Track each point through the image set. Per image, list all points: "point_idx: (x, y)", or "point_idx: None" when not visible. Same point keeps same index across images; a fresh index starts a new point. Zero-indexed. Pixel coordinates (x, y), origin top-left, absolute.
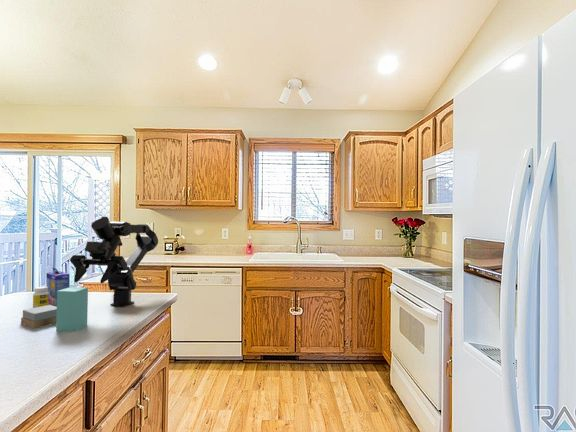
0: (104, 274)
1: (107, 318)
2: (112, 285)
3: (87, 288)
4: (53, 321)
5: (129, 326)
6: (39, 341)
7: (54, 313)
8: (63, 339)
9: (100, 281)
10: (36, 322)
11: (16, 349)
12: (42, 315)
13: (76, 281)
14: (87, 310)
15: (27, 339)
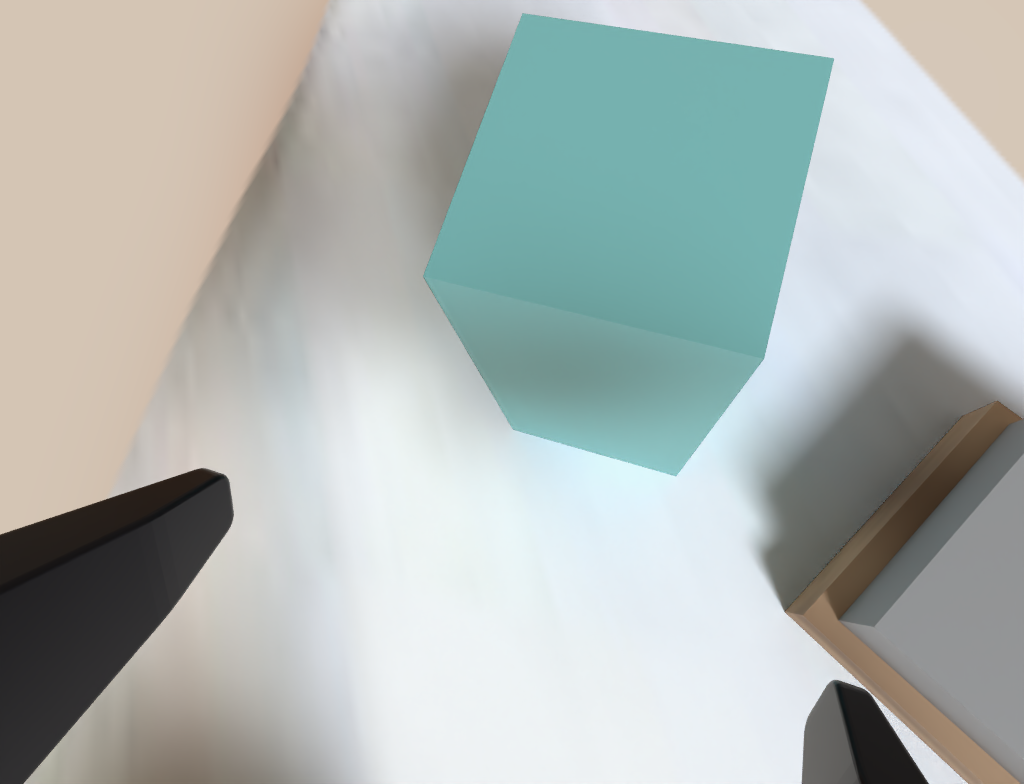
0: (22, 552)
1: (386, 628)
2: None
3: (430, 268)
4: (862, 536)
5: (185, 347)
6: None
7: (905, 566)
8: None
9: (216, 475)
10: (977, 420)
11: (788, 4)
12: (988, 471)
13: (816, 722)
14: (491, 390)
15: (833, 159)
